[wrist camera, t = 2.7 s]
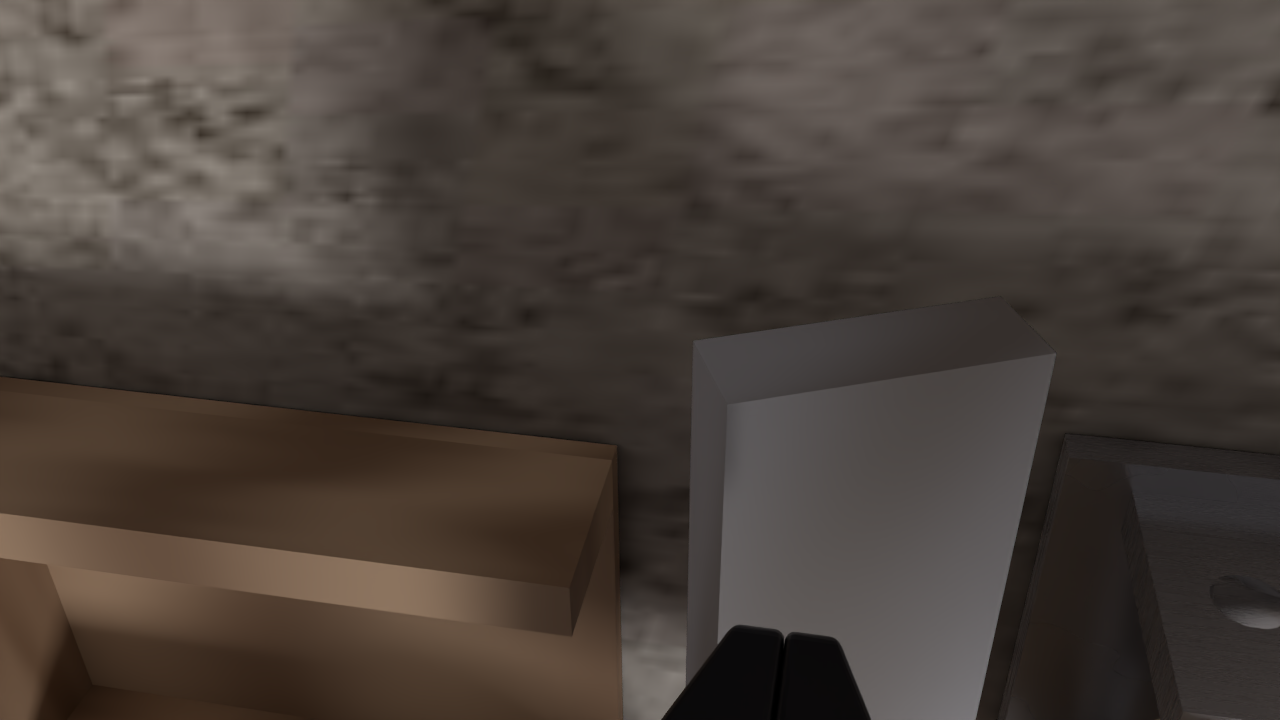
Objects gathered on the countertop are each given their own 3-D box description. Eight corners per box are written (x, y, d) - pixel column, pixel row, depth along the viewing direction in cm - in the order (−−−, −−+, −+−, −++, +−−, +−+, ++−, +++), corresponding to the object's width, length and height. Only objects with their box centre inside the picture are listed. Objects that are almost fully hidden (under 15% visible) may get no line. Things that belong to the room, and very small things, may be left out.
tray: (617, 445, 20) (569, 588, 17) (624, 781, 25) (588, 934, 22) (-55, 370, 22) (-194, 487, 19) (73, 694, 27) (-23, 825, 24)
